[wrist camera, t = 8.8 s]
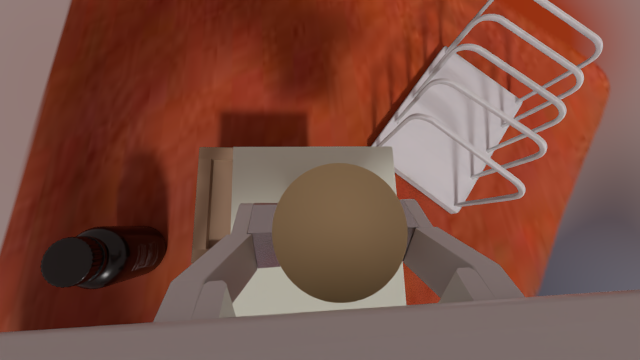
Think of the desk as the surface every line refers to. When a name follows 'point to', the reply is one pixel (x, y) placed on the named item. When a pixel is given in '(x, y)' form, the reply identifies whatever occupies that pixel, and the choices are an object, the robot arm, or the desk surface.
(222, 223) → the box
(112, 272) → the supplement bottle
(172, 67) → the desk surface
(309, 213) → the lid
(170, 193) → the desk surface
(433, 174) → the file sorter
